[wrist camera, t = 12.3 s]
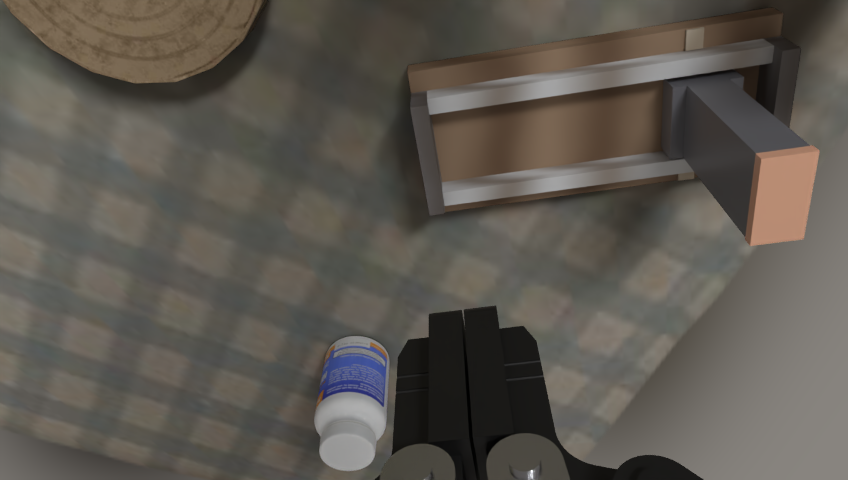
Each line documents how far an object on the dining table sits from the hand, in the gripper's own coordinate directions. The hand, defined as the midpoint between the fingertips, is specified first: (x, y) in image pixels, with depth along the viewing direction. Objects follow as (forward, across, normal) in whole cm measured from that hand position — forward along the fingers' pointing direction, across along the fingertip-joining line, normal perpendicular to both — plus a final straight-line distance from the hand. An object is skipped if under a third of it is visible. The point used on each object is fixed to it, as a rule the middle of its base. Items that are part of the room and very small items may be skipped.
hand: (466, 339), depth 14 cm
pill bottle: (+29, +11, +26) cm, 41 cm away
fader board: (+29, -8, +7) cm, 31 cm away
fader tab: (+27, -15, +7) cm, 32 cm away
